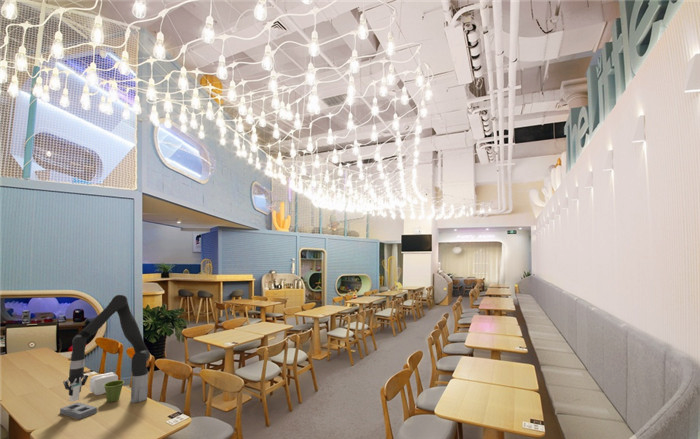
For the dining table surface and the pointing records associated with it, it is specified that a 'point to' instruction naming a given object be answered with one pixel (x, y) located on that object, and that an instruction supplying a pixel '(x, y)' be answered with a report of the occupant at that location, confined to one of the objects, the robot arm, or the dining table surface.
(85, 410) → the socket board
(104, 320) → the robot arm
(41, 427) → the dining table surface
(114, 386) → the plant pot
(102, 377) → the cable organizer
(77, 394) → the plug peg
